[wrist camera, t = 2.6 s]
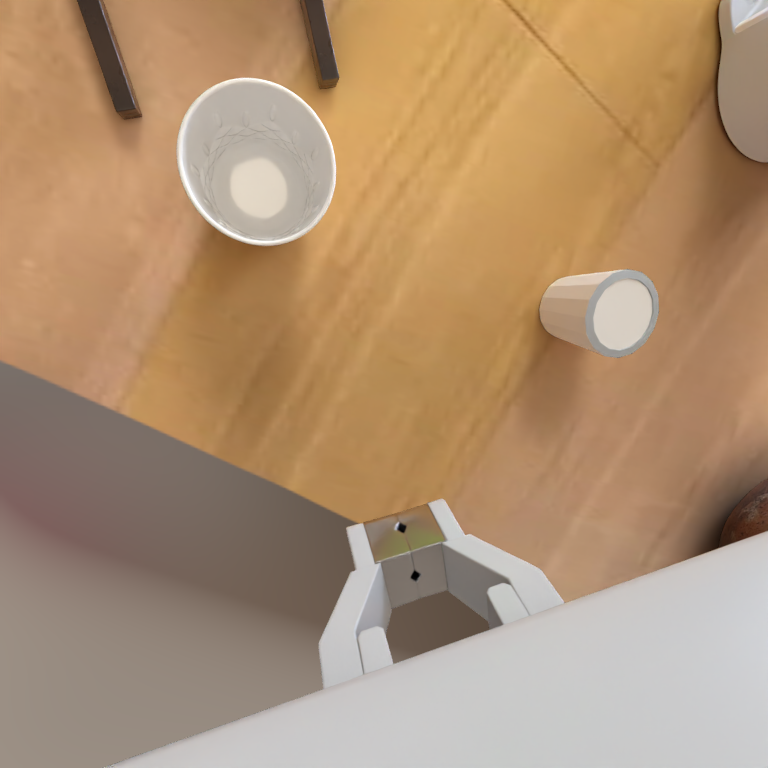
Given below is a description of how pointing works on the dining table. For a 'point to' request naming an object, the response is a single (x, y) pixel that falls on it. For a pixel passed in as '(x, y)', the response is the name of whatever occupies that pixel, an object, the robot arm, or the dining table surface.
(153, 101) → the dining table surface
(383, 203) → the dining table surface
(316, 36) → the walnut frame
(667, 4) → the dining table surface
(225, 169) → the white cup
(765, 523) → the pottery
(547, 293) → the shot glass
